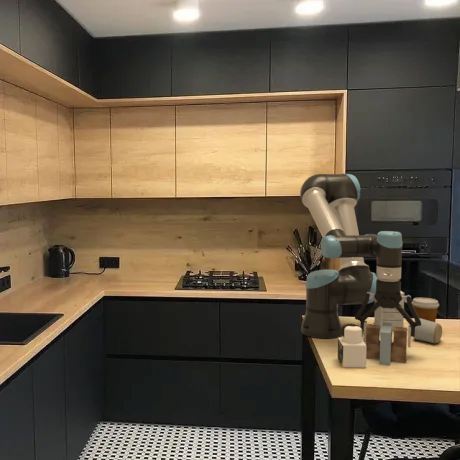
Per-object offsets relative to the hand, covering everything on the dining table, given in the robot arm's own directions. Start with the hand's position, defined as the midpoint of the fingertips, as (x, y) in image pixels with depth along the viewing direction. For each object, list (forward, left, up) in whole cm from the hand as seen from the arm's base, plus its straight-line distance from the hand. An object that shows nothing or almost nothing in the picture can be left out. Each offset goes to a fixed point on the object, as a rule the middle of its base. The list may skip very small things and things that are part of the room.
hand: (386, 343), depth 147 cm
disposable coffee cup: (+12, +30, -4) cm, 33 cm away
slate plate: (0, -4, -3) cm, 6 cm away
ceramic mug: (+13, +20, -4) cm, 24 cm away
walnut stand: (0, -5, -3) cm, 6 cm away
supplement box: (-1, +30, -4) cm, 31 cm away
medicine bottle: (-9, -13, -4) cm, 17 cm away
